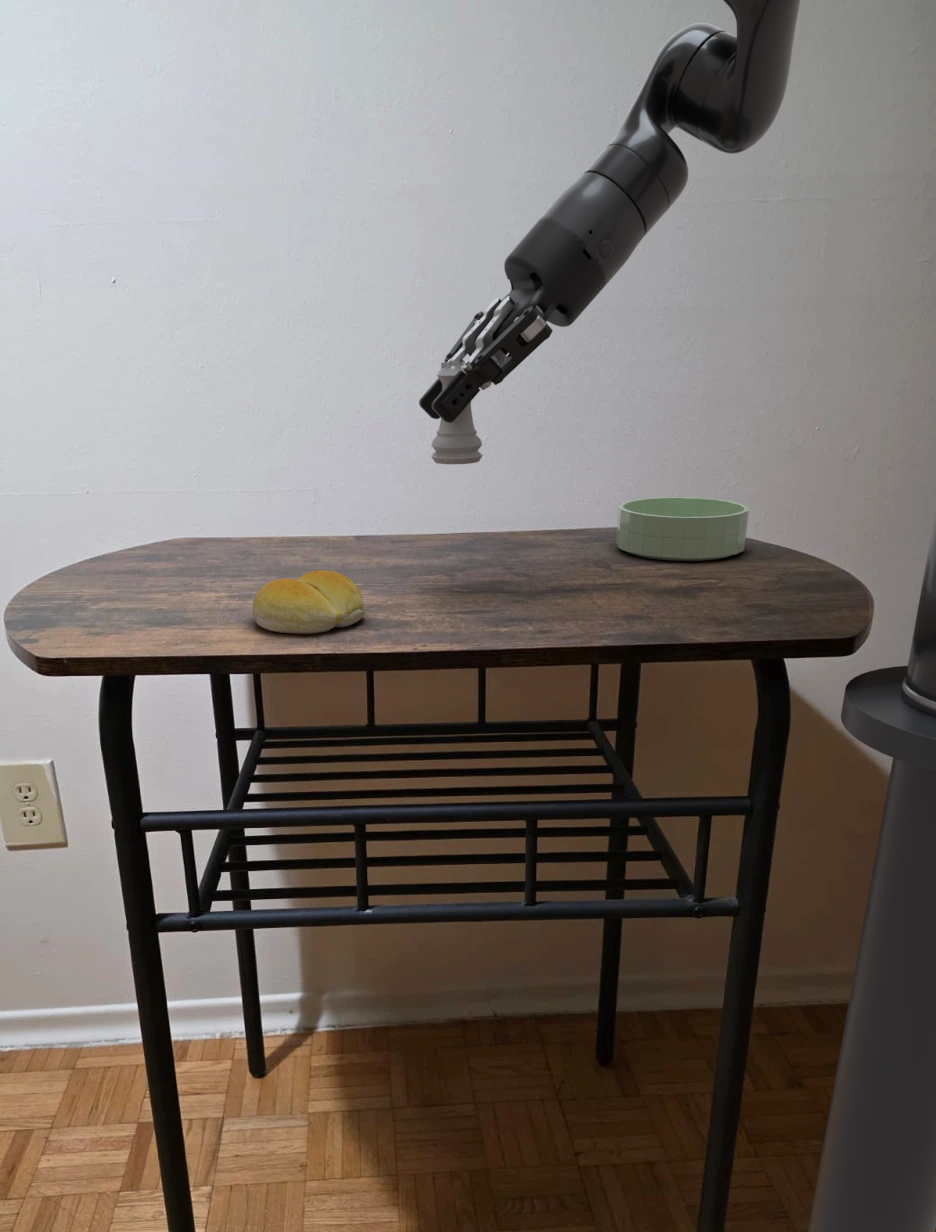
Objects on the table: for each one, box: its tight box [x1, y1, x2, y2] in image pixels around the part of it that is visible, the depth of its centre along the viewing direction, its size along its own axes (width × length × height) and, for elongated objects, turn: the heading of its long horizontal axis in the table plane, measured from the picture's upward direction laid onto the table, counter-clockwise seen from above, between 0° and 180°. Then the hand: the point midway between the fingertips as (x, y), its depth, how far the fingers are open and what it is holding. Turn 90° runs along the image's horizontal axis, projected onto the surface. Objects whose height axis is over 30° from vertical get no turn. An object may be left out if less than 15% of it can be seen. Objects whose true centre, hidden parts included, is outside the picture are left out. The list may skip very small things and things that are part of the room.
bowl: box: [615, 496, 750, 562], centre depth 102 cm, size 13×13×4 cm
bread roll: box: [252, 569, 366, 635], centre depth 79 cm, size 8×9×4 cm
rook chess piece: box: [430, 361, 484, 465], centre depth 82 cm, size 4×4×8 cm
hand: (433, 413), depth 81 cm, fingers closed on rook chess piece, 3 cm apart
